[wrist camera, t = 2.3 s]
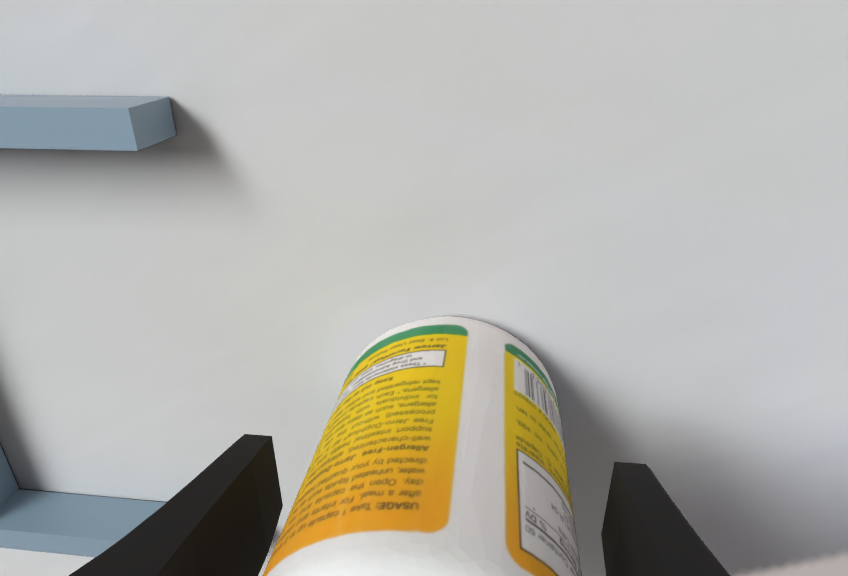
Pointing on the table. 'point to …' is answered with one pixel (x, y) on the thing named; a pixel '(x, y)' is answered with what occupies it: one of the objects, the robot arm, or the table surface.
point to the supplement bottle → (437, 464)
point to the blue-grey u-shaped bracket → (3, 500)
